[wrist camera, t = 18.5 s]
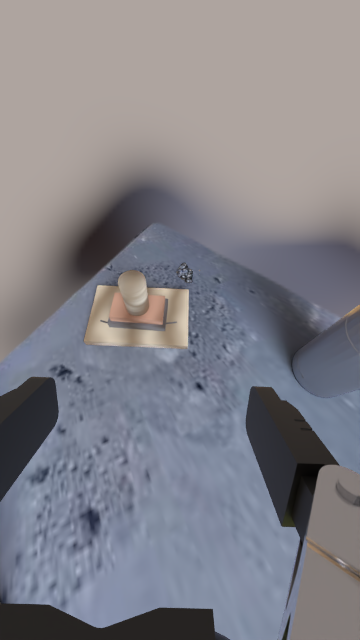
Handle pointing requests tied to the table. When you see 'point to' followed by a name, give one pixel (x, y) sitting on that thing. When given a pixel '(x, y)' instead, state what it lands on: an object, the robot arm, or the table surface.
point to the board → (111, 336)
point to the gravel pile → (185, 273)
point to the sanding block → (137, 305)
